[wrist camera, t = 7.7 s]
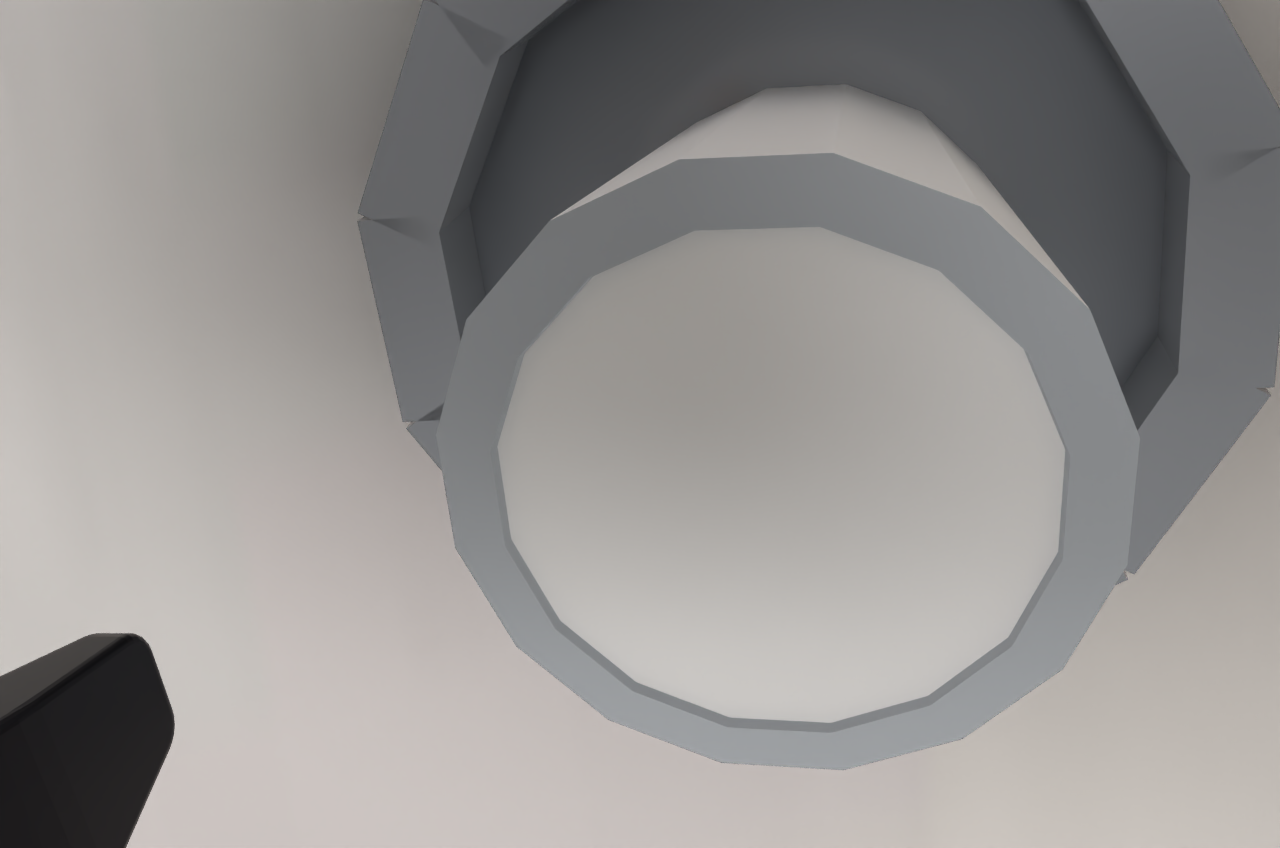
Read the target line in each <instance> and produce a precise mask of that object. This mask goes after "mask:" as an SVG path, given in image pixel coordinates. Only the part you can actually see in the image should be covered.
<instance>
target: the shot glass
mask: <svg viewBox="0 0 1280 848" xmlns="http://www.w3.org/2000/svg"><path fill="white" fill-rule="evenodd" d="M436 438H437V444H438V449H439V455H440V461H441V467H442V473H443V478H444V484H445V490H446V496H447V502H448V507H449V513H450V519H451V525H452V531H453V536H454V542H455V548H456V550H457V551H458V553H459V555H460V556H461V558H462V559H463V561H464V563H465V564H466V566H467V567H468V569H469V571H470V572H471V574H472V576H473V577H474V579H475V580H476V582H477V584H478V585H479V587H480V588H481V590H482V592H483V593H484V595H485V596H486V598H487V600H488V601H489V603H490V605H491V606H492V608H493V609H494V611H495V613H496V614H497V616H498V617H499V619H500V621H501V622H502V624H503V625H504V627H505V629H506V630H507V632H508V633H509V635H510V637H511V638H512V640H513V642H514V643H515V645H516V646H517V647H518V648H519V649H520V650H522V651H523V652H524V653H525V654H527V655H528V656H529V657H530V658H532V659H533V660H534V661H535V662H537V663H538V664H539V665H540V666H542V667H543V668H544V669H545V670H547V671H548V672H549V673H550V674H552V675H553V676H554V677H555V678H557V679H558V680H559V681H560V682H562V683H563V684H564V685H565V686H567V687H568V688H569V689H570V690H572V691H573V692H574V693H576V694H577V695H578V696H579V697H581V698H582V699H583V700H584V701H586V702H587V703H588V704H589V705H591V706H592V707H593V708H594V709H596V710H597V711H598V712H599V713H601V714H602V715H603V716H604V717H606V718H607V719H608V720H610V721H613V722H615V723H618V724H620V725H623V726H626V727H628V728H631V729H634V730H636V731H639V732H642V733H644V734H647V735H649V736H652V737H655V738H657V739H660V740H663V741H665V742H668V743H671V744H673V745H676V746H679V747H681V748H684V749H686V750H689V751H692V752H694V753H697V754H700V755H702V756H705V757H708V758H710V759H713V760H715V761H718V762H721V763H733V764H750V765H766V766H783V767H800V768H817V769H833V770H846V769H850V768H854V767H857V766H861V765H865V764H869V763H873V762H877V761H880V760H884V759H888V758H892V757H896V756H899V755H903V754H907V753H911V752H915V751H919V750H922V749H926V748H930V747H934V746H938V745H941V744H945V743H949V742H953V741H957V740H960V739H963V738H965V737H966V736H967V735H969V734H970V733H972V732H973V731H975V730H976V729H977V728H979V727H980V726H982V725H983V724H985V723H986V722H987V721H989V720H990V719H992V718H993V717H995V716H996V715H998V714H999V713H1000V712H1002V711H1003V710H1005V709H1006V708H1008V707H1009V706H1010V705H1012V704H1013V703H1015V702H1016V701H1018V700H1019V699H1020V698H1022V697H1023V696H1025V695H1026V694H1028V693H1029V692H1031V691H1032V690H1033V689H1035V688H1036V687H1038V686H1039V685H1041V684H1042V683H1043V682H1045V681H1046V680H1048V679H1049V678H1051V677H1052V676H1053V675H1055V674H1056V673H1058V672H1059V671H1061V670H1062V669H1063V668H1064V666H1065V665H1066V663H1067V661H1068V660H1069V658H1070V657H1071V655H1072V653H1073V652H1074V650H1075V648H1076V647H1077V645H1078V644H1079V642H1080V640H1081V639H1082V637H1083V636H1084V634H1085V632H1086V631H1087V629H1088V628H1089V626H1090V624H1091V623H1092V621H1093V619H1094V618H1095V616H1096V615H1097V613H1098V611H1099V610H1100V608H1101V607H1102V605H1103V603H1104V602H1105V600H1106V599H1107V597H1108V595H1109V594H1110V592H1111V591H1112V589H1113V587H1114V586H1115V584H1116V582H1117V581H1118V579H1119V578H1120V576H1121V574H1122V573H1123V571H1124V570H1125V568H1126V566H1127V565H1128V555H1129V545H1130V535H1131V525H1132V514H1133V504H1134V494H1135V484H1136V474H1137V464H1138V454H1139V444H1140V436H1139V434H1138V431H1137V429H1136V426H1135V424H1134V421H1133V418H1132V416H1131V413H1130V411H1129V408H1128V406H1127V403H1126V400H1125V398H1124V395H1123V393H1122V390H1121V388H1120V385H1119V382H1118V380H1117V377H1116V375H1115V372H1114V370H1113V367H1112V364H1111V362H1110V359H1109V357H1108V354H1107V352H1106V349H1105V346H1104V344H1103V341H1102V339H1101V336H1100V334H1099V331H1098V329H1097V326H1096V323H1095V321H1094V318H1093V316H1092V313H1091V311H1090V309H1089V308H1088V306H1087V305H1086V304H1085V302H1084V301H1083V300H1082V299H1081V297H1080V296H1079V295H1078V293H1077V292H1076V291H1075V290H1074V288H1073V287H1072V286H1071V284H1070V283H1069V282H1068V281H1067V279H1066V278H1065V277H1064V275H1063V274H1062V273H1061V272H1060V270H1059V269H1058V268H1057V266H1056V265H1055V264H1054V263H1053V261H1052V260H1051V259H1050V258H1049V256H1048V255H1047V254H1046V252H1045V251H1044V250H1043V249H1042V247H1041V246H1040V245H1039V243H1038V242H1037V241H1036V240H1035V238H1034V237H1033V236H1032V234H1031V233H1030V232H1029V231H1028V229H1027V228H1026V227H1025V225H1024V224H1023V223H1022V222H1021V220H1020V219H1019V218H1018V216H1017V215H1016V214H1015V213H1014V211H1013V210H1012V209H1011V208H1010V206H1009V205H1008V204H1007V202H1006V201H1005V200H1004V199H1003V197H1002V196H1001V195H1000V193H999V192H998V191H997V190H996V188H995V187H994V186H993V184H992V183H991V182H990V181H989V179H988V178H987V177H986V175H985V174H984V173H983V172H982V170H981V169H980V168H979V166H978V165H977V164H976V163H975V162H974V161H973V160H972V159H971V158H969V157H968V156H967V155H966V154H965V153H964V152H963V151H962V150H961V149H960V148H959V147H958V146H957V145H956V144H955V143H954V142H953V141H952V140H951V139H949V138H948V137H947V136H946V135H945V134H944V133H943V132H942V131H941V130H940V129H939V128H938V127H937V126H936V125H935V124H934V123H933V122H932V121H931V120H929V119H928V118H927V117H926V116H925V115H924V114H923V113H922V112H921V111H919V110H916V109H913V108H910V107H908V106H905V105H902V104H899V103H897V102H894V101H891V100H888V99H886V98H883V97H880V96H877V95H875V94H872V93H869V92H866V91H863V90H861V89H858V88H855V87H852V86H850V85H847V84H839V85H821V86H802V87H784V88H766V89H764V90H762V91H760V92H758V93H756V94H754V95H752V96H750V97H748V98H746V99H744V100H742V101H739V102H737V103H735V104H733V105H731V106H729V107H727V108H725V109H723V110H721V111H719V112H717V113H715V114H713V115H711V116H709V117H706V118H704V119H702V120H700V121H698V122H696V123H695V124H693V125H692V126H690V127H689V128H687V129H686V130H684V131H683V132H681V133H680V134H678V135H677V136H675V137H674V138H672V139H671V140H669V141H668V142H666V143H665V144H663V145H662V146H661V147H659V148H658V149H656V150H655V151H653V152H652V153H650V154H649V155H647V156H646V157H644V158H643V159H641V160H640V161H638V162H637V163H635V164H634V165H632V166H631V167H629V168H628V169H626V170H625V171H623V172H622V173H620V174H619V175H617V176H616V177H614V178H613V179H611V180H610V181H608V182H607V183H605V184H604V185H602V186H601V187H599V188H598V189H596V190H595V191H593V192H592V193H590V194H589V195H587V196H586V197H584V198H583V199H581V200H580V201H578V202H577V203H575V204H574V205H572V206H571V207H569V208H568V209H566V210H565V211H563V212H562V213H560V214H559V215H557V216H556V217H554V218H553V219H551V220H550V221H549V222H548V223H547V224H546V226H545V227H544V228H543V229H542V230H541V232H540V233H539V234H538V235H537V236H536V237H535V239H534V240H533V241H532V242H531V243H530V245H529V246H528V247H527V248H526V249H525V251H524V252H523V253H522V254H521V255H520V256H519V258H518V259H517V260H516V261H515V262H514V264H513V265H512V266H511V267H510V268H509V269H508V271H507V272H506V273H505V274H504V275H503V277H502V278H501V279H500V280H499V281H498V283H497V284H496V285H495V286H494V287H493V288H492V290H491V291H490V292H489V293H488V294H487V296H486V297H485V298H484V299H483V300H482V302H481V303H480V304H479V305H478V306H477V307H476V309H475V310H474V311H473V312H472V313H471V315H470V316H469V317H468V318H467V319H466V323H465V326H464V330H463V334H462V338H461V342H460V345H459V349H458V353H457V357H456V361H455V364H454V368H453V372H452V376H451V380H450V383H449V387H448V391H447V395H446V399H445V402H444V406H443V410H442V414H441V418H440V421H439V425H438V429H437V433H436Z"/></svg>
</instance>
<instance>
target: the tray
mask: <svg viewBox="0 0 1280 848" xmlns="http://www.w3.org/2000/svg"><path fill="white" fill-rule="evenodd" d="M839 84H847V85H850V86H852V87H855V88H858V89H861V90H863V91H866V92H869V93H872V94H875V95H877V96H880V97H883V98H886V99H888V100H891V101H894V102H897V103H899V104H902V105H905V106H908V107H910V108H913V109H916V110H919V111H921V112H922V113H923V114H924V115H925V116H926V117H927V118H928V119H929V120H931V121H932V122H933V123H934V124H935V125H936V126H937V127H938V128H939V129H940V130H941V131H942V132H943V133H944V134H945V135H946V136H947V137H948V138H949V139H951V140H952V141H953V142H954V143H955V144H956V145H957V146H958V147H959V148H960V149H961V150H962V151H963V152H964V153H965V154H966V155H967V156H968V157H969V158H971V159H972V160H973V161H974V162H975V163H976V164H977V165H978V166H979V168H980V169H981V170H982V172H983V173H984V174H985V175H986V177H987V178H988V179H989V181H990V182H991V183H992V184H993V186H994V187H995V188H996V190H997V191H998V192H999V193H1000V195H1001V196H1002V197H1003V199H1004V200H1005V201H1006V202H1007V204H1008V205H1009V206H1010V208H1011V209H1012V210H1013V211H1014V213H1015V214H1016V215H1017V216H1018V218H1019V219H1020V220H1021V222H1022V223H1023V224H1024V225H1025V227H1026V228H1027V229H1028V231H1029V232H1030V233H1031V234H1032V236H1033V237H1034V238H1035V240H1036V241H1037V242H1038V243H1039V245H1040V246H1041V247H1042V249H1043V250H1044V251H1045V252H1046V254H1047V255H1048V256H1049V258H1050V259H1051V260H1052V261H1053V263H1054V264H1055V265H1056V266H1057V268H1058V269H1059V270H1060V272H1061V273H1062V274H1063V275H1064V277H1065V278H1066V279H1067V281H1068V282H1069V283H1070V284H1071V286H1072V287H1073V288H1074V290H1075V291H1076V292H1077V293H1078V295H1079V296H1080V297H1081V299H1082V300H1083V301H1084V302H1085V304H1086V305H1087V306H1088V308H1089V309H1090V311H1091V313H1092V316H1093V318H1094V321H1095V323H1096V326H1097V329H1098V331H1099V334H1100V336H1101V339H1102V341H1103V344H1104V346H1105V349H1106V352H1107V354H1108V357H1109V359H1110V362H1111V364H1112V367H1113V370H1114V372H1115V375H1116V377H1117V380H1118V382H1119V385H1120V388H1121V390H1122V393H1123V395H1124V398H1125V400H1126V403H1127V406H1128V408H1129V411H1130V413H1131V416H1132V418H1133V421H1134V424H1135V426H1136V429H1137V431H1138V434H1139V436H1140V444H1139V454H1138V464H1137V474H1136V484H1135V494H1134V504H1133V514H1132V525H1131V535H1130V545H1129V555H1128V565H1127V566H1126V568H1125V570H1126V571H1128V572H1130V573H1132V574H1135V573H1136V571H1137V570H1138V569H1139V568H1140V566H1141V565H1142V564H1143V562H1144V561H1145V560H1146V558H1147V557H1148V556H1149V554H1150V553H1151V552H1152V550H1153V549H1154V548H1155V547H1156V545H1157V544H1158V543H1159V541H1160V540H1161V539H1162V537H1163V536H1164V535H1165V533H1166V532H1167V531H1168V529H1169V528H1170V527H1171V526H1172V524H1173V523H1174V522H1175V520H1176V519H1177V518H1178V516H1179V515H1180V514H1181V512H1182V511H1183V510H1184V509H1185V507H1186V506H1187V505H1188V503H1189V502H1190V501H1191V499H1192V498H1193V497H1194V495H1195V494H1196V493H1197V491H1198V490H1199V489H1200V488H1201V486H1202V485H1203V484H1204V482H1205V481H1206V480H1207V478H1208V477H1209V476H1210V474H1211V473H1212V472H1213V471H1214V469H1215V468H1216V467H1217V465H1218V464H1219V463H1220V461H1221V460H1222V459H1223V457H1224V456H1225V455H1226V453H1227V452H1228V451H1229V450H1230V448H1231V447H1232V446H1233V444H1234V443H1235V442H1236V440H1237V439H1238V438H1239V436H1240V435H1241V434H1242V433H1243V431H1244V430H1245V429H1246V427H1247V426H1248V425H1249V423H1250V422H1251V421H1252V419H1253V418H1254V417H1255V415H1256V414H1257V413H1258V412H1259V410H1260V409H1261V408H1262V406H1263V405H1264V404H1265V402H1266V401H1267V400H1268V398H1269V397H1270V396H1271V395H1270V393H1269V392H1268V390H1267V389H1266V388H1269V387H1274V384H1275V373H1276V363H1277V353H1278V342H1279V332H1280V109H1279V107H1278V105H1277V103H1276V101H1275V100H1274V98H1273V96H1272V94H1271V93H1270V91H1269V89H1268V87H1267V85H1266V84H1265V82H1264V80H1263V78H1262V77H1261V75H1260V73H1259V71H1258V70H1257V68H1256V66H1255V64H1254V62H1253V61H1252V59H1251V57H1250V55H1249V54H1248V52H1247V50H1246V48H1245V46H1244V45H1243V43H1242V41H1241V39H1240V38H1239V36H1238V34H1237V32H1236V30H1235V29H1234V27H1233V25H1232V23H1231V22H1230V20H1229V18H1228V16H1227V15H1226V13H1225V11H1224V9H1223V7H1222V6H1221V4H1220V2H1219V0H423V2H422V5H421V9H420V12H419V15H418V18H417V22H416V25H415V28H414V31H413V35H412V38H411V41H410V44H409V48H408V51H407V54H406V57H405V61H404V64H403V67H402V70H401V74H400V77H399V80H398V83H397V87H396V90H395V93H394V96H393V100H392V103H391V106H390V110H389V113H388V116H387V119H386V123H385V126H384V129H383V132H382V136H381V139H380V142H379V145H378V149H377V152H376V155H375V158H374V162H373V165H372V168H371V171H370V175H369V178H368V181H367V184H366V188H365V191H364V194H363V197H362V201H361V204H360V207H359V210H358V214H361V215H363V216H364V217H363V218H361V219H360V220H358V226H359V230H360V234H361V239H362V243H363V248H364V252H365V257H366V261H367V265H368V270H369V274H370V279H371V283H372V288H373V292H374V296H375V301H376V305H377V310H378V314H379V318H380V323H381V327H382V332H383V336H384V341H385V345H386V349H387V354H388V358H389V363H390V367H391V372H392V376H393V380H394V385H395V389H396V394H397V398H398V403H399V407H400V411H401V416H402V420H403V422H411V423H410V424H409V426H408V427H407V428H406V429H407V430H408V431H409V432H410V434H411V435H412V436H413V437H414V438H415V440H416V441H417V442H418V443H419V444H420V445H421V447H422V448H423V449H424V450H425V451H426V453H427V454H428V455H429V456H430V457H431V459H432V460H433V461H434V462H435V463H436V465H437V466H438V467H439V468H440V469H441V470H442V467H441V461H440V455H439V449H438V444H437V438H436V433H437V429H438V425H439V421H440V418H441V414H442V410H443V406H444V402H445V399H446V395H447V391H448V387H449V383H450V380H451V376H452V372H453V368H454V364H455V361H456V357H457V353H458V349H459V345H460V342H461V338H462V334H463V330H464V326H465V323H466V319H467V318H468V317H469V316H470V315H471V313H472V312H473V311H474V310H475V309H476V307H477V306H478V305H479V304H480V303H481V302H482V300H483V299H484V298H485V297H486V296H487V294H488V293H489V292H490V291H491V290H492V288H493V287H494V286H495V285H496V284H497V283H498V281H499V280H500V279H501V278H502V277H503V275H504V274H505V273H506V272H507V271H508V269H509V268H510V267H511V266H512V265H513V264H514V262H515V261H516V260H517V259H518V258H519V256H520V255H521V254H522V253H523V252H524V251H525V249H526V248H527V247H528V246H529V245H530V243H531V242H532V241H533V240H534V239H535V237H536V236H537V235H538V234H539V233H540V232H541V230H542V229H543V228H544V227H545V226H546V224H547V223H548V222H549V221H550V220H551V219H553V218H554V217H556V216H557V215H559V214H560V213H562V212H563V211H565V210H566V209H568V208H569V207H571V206H572V205H574V204H575V203H577V202H578V201H580V200H581V199H583V198H584V197H586V196H587V195H589V194H590V193H592V192H593V191H595V190H596V189H598V188H599V187H601V186H602V185H604V184H605V183H607V182H608V181H610V180H611V179H613V178H614V177H616V176H617V175H619V174H620V173H622V172H623V171H625V170H626V169H628V168H629V167H631V166H632V165H634V164H635V163H637V162H638V161H640V160H641V159H643V158H644V157H646V156H647V155H649V154H650V153H652V152H653V151H655V150H656V149H658V148H659V147H661V146H662V145H663V144H665V143H666V142H668V141H669V140H671V139H672V138H674V137H675V136H677V135H678V134H680V133H681V132H683V131H684V130H686V129H687V128H689V127H690V126H692V125H693V124H695V123H696V122H698V121H700V120H702V119H704V118H706V117H709V116H711V115H713V114H715V113H717V112H719V111H721V110H723V109H725V108H727V107H729V106H731V105H733V104H735V103H737V102H739V101H742V100H744V99H746V98H748V97H750V96H752V95H754V94H756V93H758V92H760V91H762V90H764V89H766V88H784V87H802V86H821V85H839ZM1125 570H1124V571H1123V573H1122V574H1121V576H1120V578H1119V579H1118V581H1117V582H1116V584H1115V585H1117V584H1119V583H1121V582H1123V581H1125V580H1128V578H1127V575H1126V572H1125Z"/></svg>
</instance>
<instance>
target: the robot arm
mask: <svg viewBox="0 0 1280 848" xmlns="http://www.w3.org/2000/svg"><path fill="white" fill-rule="evenodd" d="M174 726H175V723H174V714H173V710H172V707H171V704H170V702H169V699H168V696H167V693H166V690H165V687H164V684H163V682H162V679H161V676H160V673H159V670H158V667H157V664H156V662H155V659H154V656H153V653H152V650H151V648H150V646H149V644H148V643H147V642H146V641H145V640H144V639H143V638H142V637H140V636H138V635H136V634H133V633H96V634H91V635H88V636H85V637H83V638H81V639H79V640H77V641H74V642H72V643H70V644H68V645H66V646H64V647H62V648H60V649H57V650H55V651H53V652H51V653H49V654H47V655H45V656H43V657H40V658H38V659H36V660H34V661H32V662H30V663H28V664H26V665H23V666H21V667H19V668H17V669H15V670H13V671H11V672H9V673H6V674H4V675H2V676H0V848H126V846H127V844H128V842H129V839H130V837H131V835H132V833H133V830H134V828H135V826H136V824H137V821H138V819H139V817H140V815H141V812H142V810H143V808H144V805H145V803H146V801H147V799H148V796H149V794H150V792H151V790H152V787H153V785H154V783H155V781H156V778H157V776H158V774H159V772H160V769H161V767H162V765H163V763H164V760H165V758H166V756H167V754H168V751H169V749H170V747H171V744H172V740H173V736H174Z"/></svg>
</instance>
